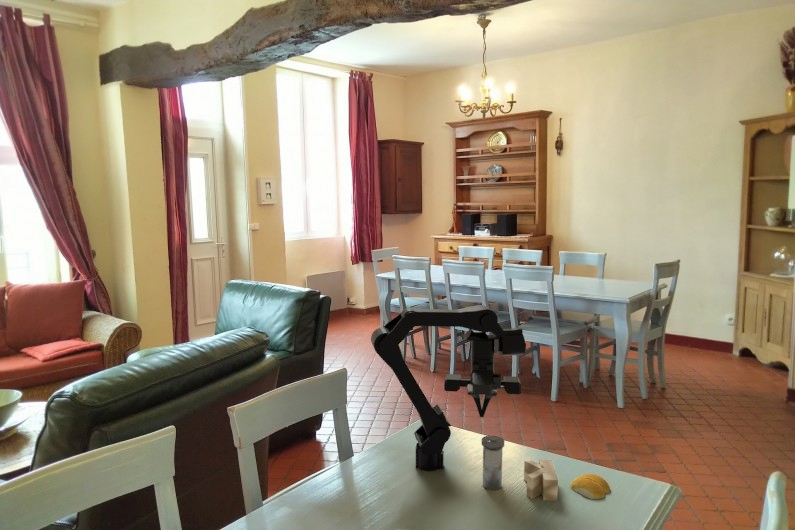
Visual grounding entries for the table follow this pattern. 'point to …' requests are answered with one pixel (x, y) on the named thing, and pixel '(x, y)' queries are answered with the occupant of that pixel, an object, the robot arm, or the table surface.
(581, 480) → the bread roll
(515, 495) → the table surface
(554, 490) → the v block
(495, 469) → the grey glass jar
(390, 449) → the table surface
